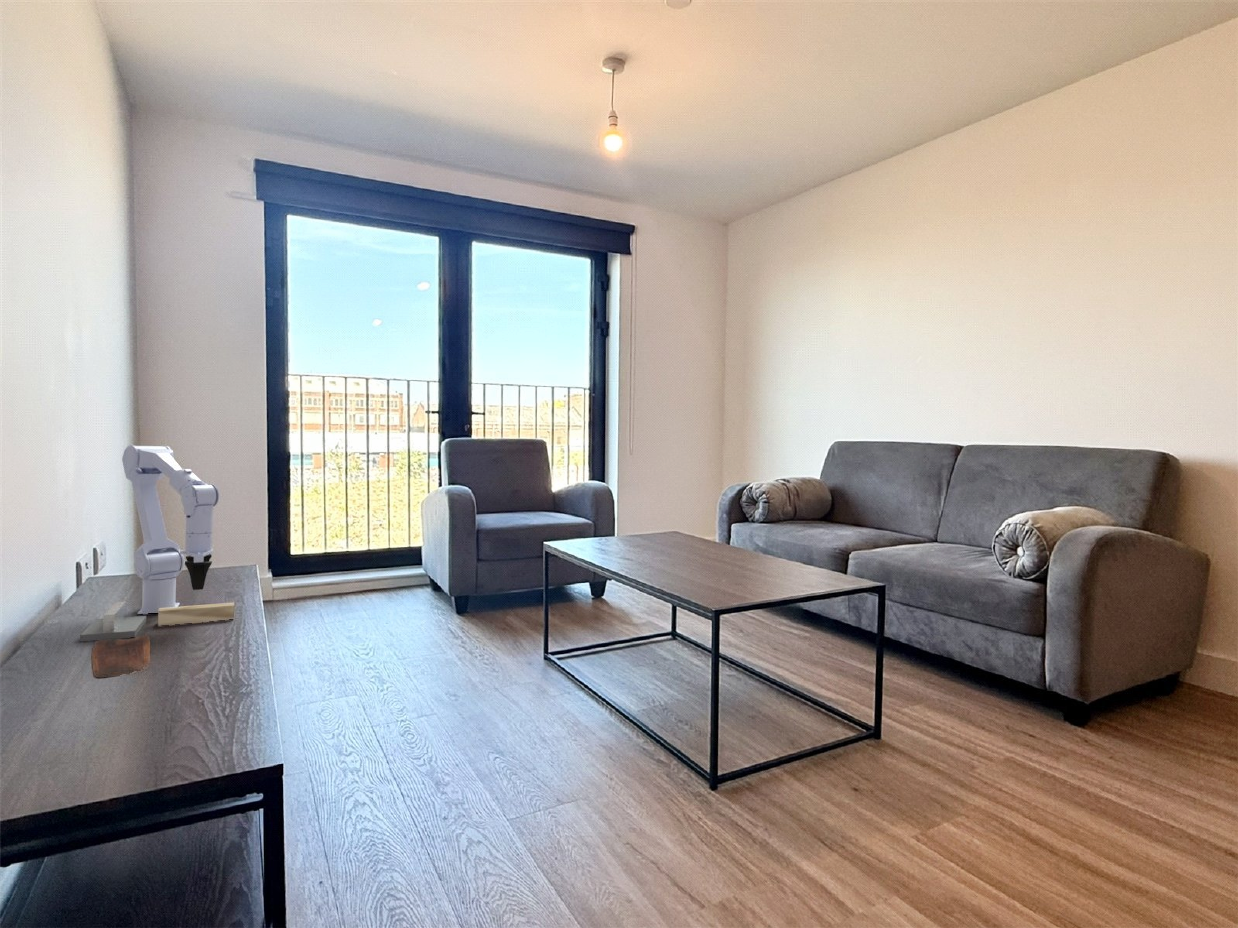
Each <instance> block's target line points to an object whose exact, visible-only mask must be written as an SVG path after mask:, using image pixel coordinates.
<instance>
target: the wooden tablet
mask: <svg viewBox="0 0 1238 928" xmlns="http://www.w3.org/2000/svg"><path fill="white" fill-rule="evenodd" d="M150 641H151V640H150V636H148V635H139V636H136V637H134V638H126V639H123V638H121V639H107V640H97V641H96V642H95V643H94V645H93V648H92V654H91V658H92V659H91V660H92V663H91V664H92V672H93V675H94V677H95V678H98V679H99V678H111V677H113V678H114V677H121V676H120V675H122V674H126V675H131V674H130V673H132V672H134V671H141V669H142V670H144V669H143V667H147V664H149V661H150V662H151V653H150V652H151V643H150Z"/></svg>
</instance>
